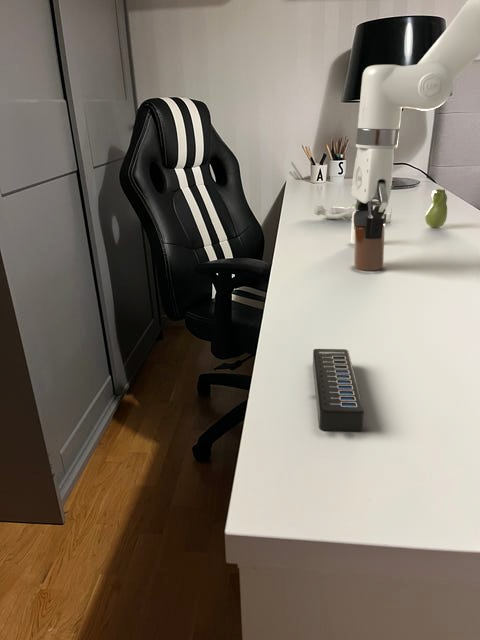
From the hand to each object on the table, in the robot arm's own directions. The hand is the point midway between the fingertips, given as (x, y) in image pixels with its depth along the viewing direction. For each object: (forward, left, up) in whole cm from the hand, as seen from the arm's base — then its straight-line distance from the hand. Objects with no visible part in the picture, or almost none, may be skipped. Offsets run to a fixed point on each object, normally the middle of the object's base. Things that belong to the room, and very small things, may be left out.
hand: (367, 233), depth 100 cm
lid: (0, 0, +4) cm, 4 cm away
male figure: (-7, -47, -7) cm, 48 cm away
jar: (-1, 0, -7) cm, 7 cm away
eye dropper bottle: (-4, -19, -7) cm, 21 cm away
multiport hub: (+15, +49, -7) cm, 52 cm away
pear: (-27, -35, -7) cm, 45 cm away
